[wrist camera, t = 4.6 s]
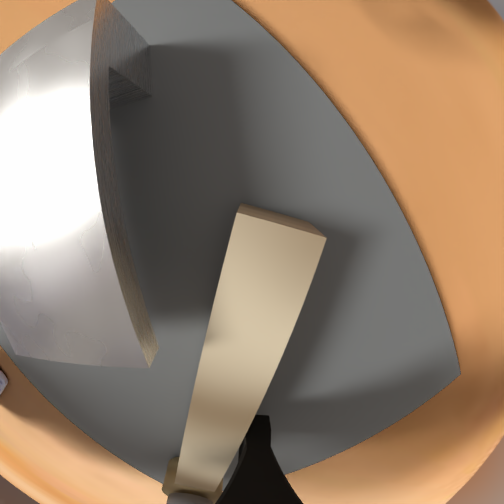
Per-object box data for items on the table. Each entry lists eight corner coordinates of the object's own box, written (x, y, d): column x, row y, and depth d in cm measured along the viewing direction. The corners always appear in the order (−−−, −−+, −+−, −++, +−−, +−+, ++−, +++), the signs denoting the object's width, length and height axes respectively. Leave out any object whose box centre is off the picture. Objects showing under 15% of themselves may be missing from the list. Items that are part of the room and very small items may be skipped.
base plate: (189, 490, 14) (183, 532, 10) (-42, 260, 9) (-83, 282, 5) (455, 367, 11) (493, 414, 7) (178, -31, 6) (151, -93, 2)
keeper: (185, 296, 9) (149, 368, 5) (71, 304, 9) (15, 354, 5) (149, 45, 6) (98, -10, 3) (38, 95, 7) (-29, 82, 3)
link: (218, 483, 12) (216, 508, 10) (167, 472, 12) (161, 496, 10) (327, 227, 8) (350, 244, 6) (220, 197, 8) (209, 205, 6)
